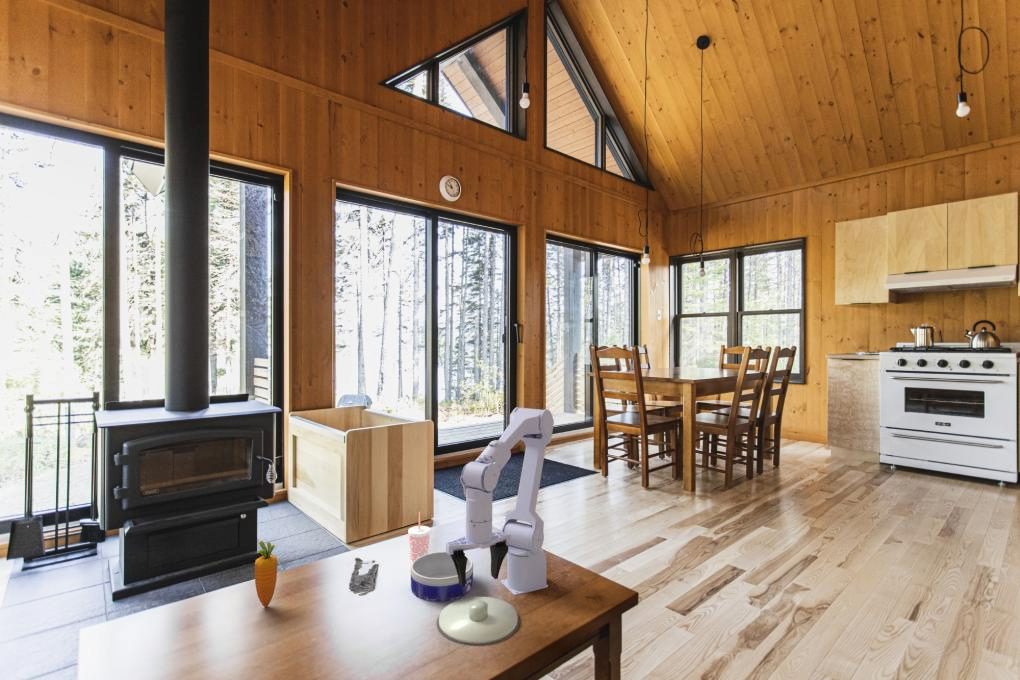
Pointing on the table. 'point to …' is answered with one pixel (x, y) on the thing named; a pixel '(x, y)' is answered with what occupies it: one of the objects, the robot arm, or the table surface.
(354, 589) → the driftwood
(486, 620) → the lid
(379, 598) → the table surface
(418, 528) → the beverage cup
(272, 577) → the carrot
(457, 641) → the mat
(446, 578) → the dog bowl
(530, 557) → the robot arm
